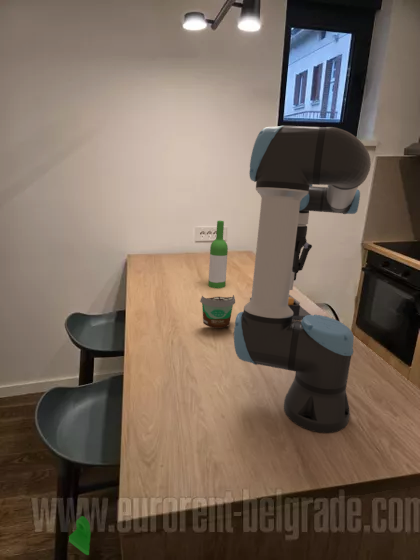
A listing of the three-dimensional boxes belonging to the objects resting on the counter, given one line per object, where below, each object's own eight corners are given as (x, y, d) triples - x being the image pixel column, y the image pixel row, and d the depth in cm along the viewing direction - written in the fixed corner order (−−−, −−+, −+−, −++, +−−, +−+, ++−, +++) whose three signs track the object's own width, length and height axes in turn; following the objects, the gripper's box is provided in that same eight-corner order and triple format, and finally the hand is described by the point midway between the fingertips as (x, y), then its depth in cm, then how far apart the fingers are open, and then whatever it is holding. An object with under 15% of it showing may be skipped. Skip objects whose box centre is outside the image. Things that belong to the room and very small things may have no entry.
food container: (203, 330, 126) (204, 302, 123) (199, 323, 132) (200, 295, 129) (238, 328, 129) (240, 300, 126) (232, 321, 135) (234, 294, 132)
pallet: (311, 319, 141) (313, 305, 139) (267, 320, 137) (269, 306, 135) (288, 300, 160) (289, 287, 159) (249, 301, 156) (250, 288, 155)
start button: (295, 308, 139) (296, 300, 138) (283, 308, 138) (284, 300, 137) (290, 304, 143) (291, 296, 143) (279, 304, 142) (280, 296, 142)
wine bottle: (228, 289, 170) (232, 222, 162) (211, 290, 167) (215, 222, 159) (221, 284, 177) (225, 219, 169) (205, 285, 174) (208, 219, 166)
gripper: (308, 223, 137) (301, 285, 144) (274, 222, 134) (268, 286, 141) (318, 226, 130) (310, 291, 137) (283, 225, 127) (276, 292, 134)
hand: (289, 288), depth 139 cm, fingers closed
